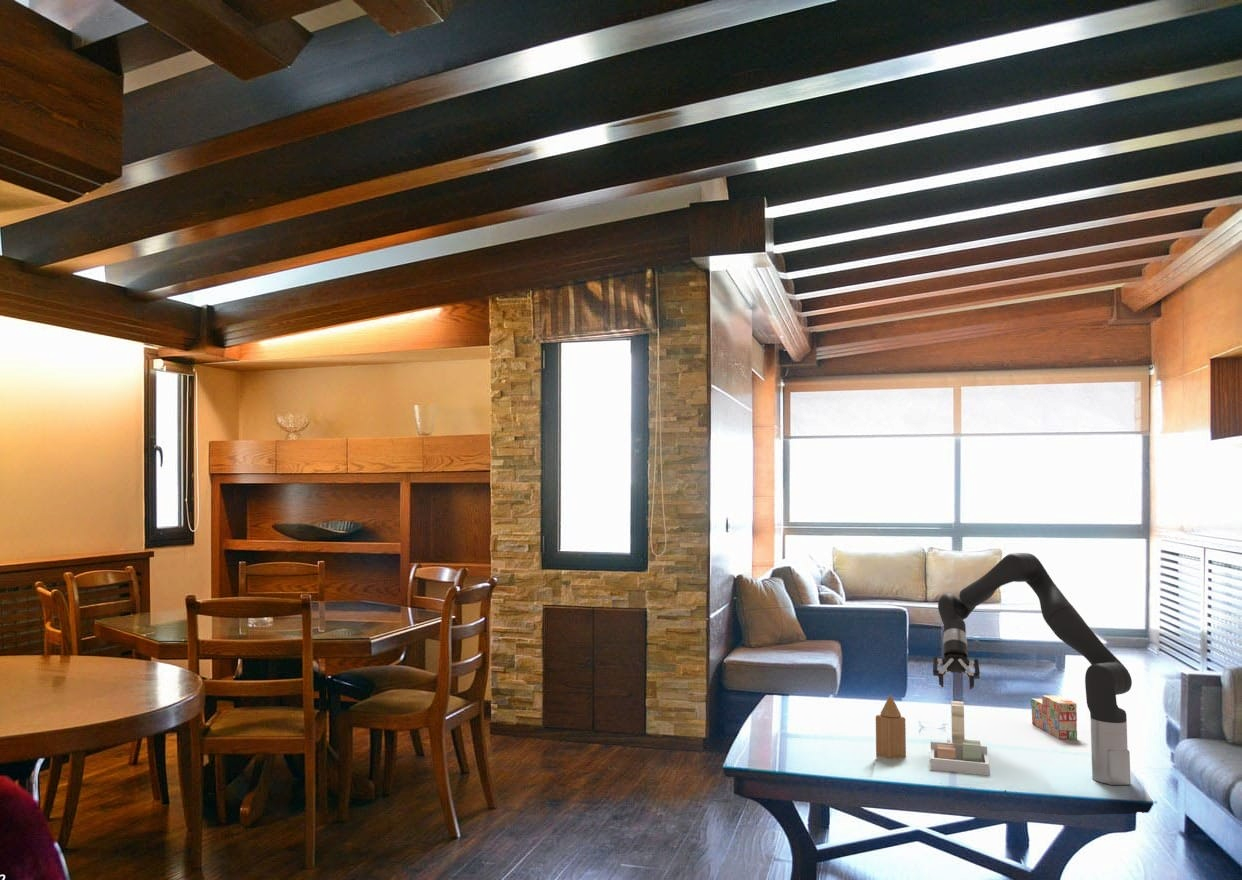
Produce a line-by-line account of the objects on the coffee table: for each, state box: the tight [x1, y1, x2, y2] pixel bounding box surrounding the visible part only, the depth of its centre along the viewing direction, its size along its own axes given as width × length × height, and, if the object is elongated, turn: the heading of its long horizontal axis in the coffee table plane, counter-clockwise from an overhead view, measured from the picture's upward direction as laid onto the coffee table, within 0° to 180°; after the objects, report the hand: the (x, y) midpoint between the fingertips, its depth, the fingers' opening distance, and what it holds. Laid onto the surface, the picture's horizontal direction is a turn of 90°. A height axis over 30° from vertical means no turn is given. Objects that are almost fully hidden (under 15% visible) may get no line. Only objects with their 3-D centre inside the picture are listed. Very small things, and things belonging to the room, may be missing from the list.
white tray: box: [929, 738, 991, 776], centre depth 270 cm, size 24×16×6 cm, turn 160°
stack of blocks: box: [1030, 694, 1078, 740], centre depth 313 cm, size 21×6×12 cm, turn 179°
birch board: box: [950, 700, 965, 744], centre depth 275 cm, size 7×4×16 cm, turn 160°
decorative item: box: [875, 693, 907, 760], centre depth 276 cm, size 7×7×20 cm
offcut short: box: [938, 744, 956, 760], centre depth 266 cm, size 5×5×5 cm
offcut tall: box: [962, 739, 982, 762], centre depth 264 cm, size 6×5×7 cm
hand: (956, 686), depth 287 cm, fingers open, 8 cm apart
